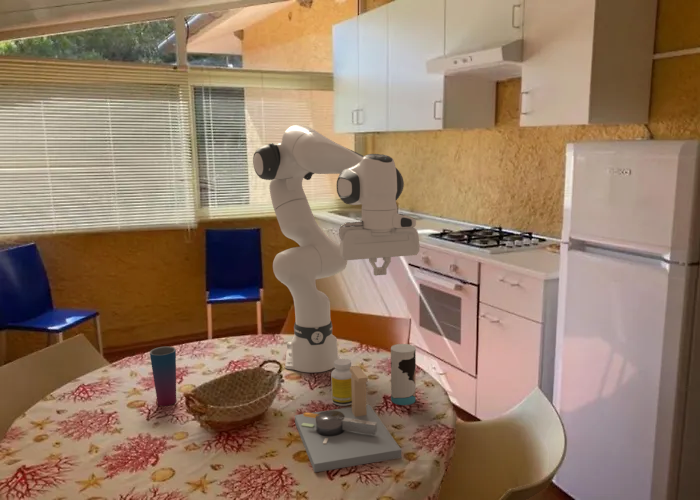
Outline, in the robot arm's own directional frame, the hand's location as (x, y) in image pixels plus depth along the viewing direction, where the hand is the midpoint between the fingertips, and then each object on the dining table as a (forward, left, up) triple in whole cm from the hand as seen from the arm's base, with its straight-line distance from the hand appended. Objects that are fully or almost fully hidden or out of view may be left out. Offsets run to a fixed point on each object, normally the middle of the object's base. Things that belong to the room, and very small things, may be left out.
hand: (380, 274), depth 148 cm
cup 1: (-24, -55, -37) cm, 71 cm away
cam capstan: (+10, -14, -35) cm, 39 cm away
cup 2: (-5, +8, -37) cm, 39 cm away
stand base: (+11, -13, -37) cm, 41 cm away
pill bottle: (-9, -8, -37) cm, 39 cm away
